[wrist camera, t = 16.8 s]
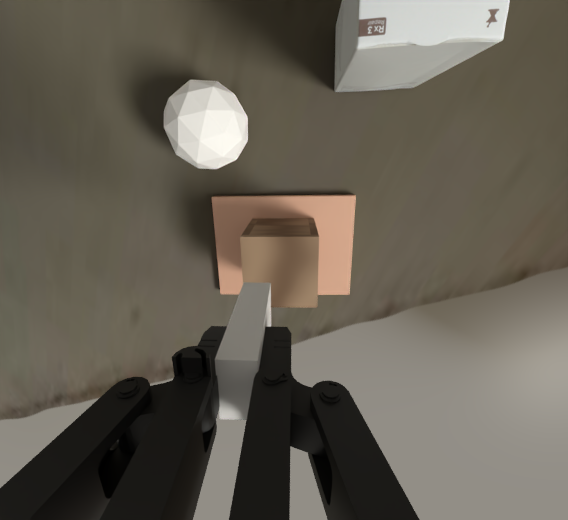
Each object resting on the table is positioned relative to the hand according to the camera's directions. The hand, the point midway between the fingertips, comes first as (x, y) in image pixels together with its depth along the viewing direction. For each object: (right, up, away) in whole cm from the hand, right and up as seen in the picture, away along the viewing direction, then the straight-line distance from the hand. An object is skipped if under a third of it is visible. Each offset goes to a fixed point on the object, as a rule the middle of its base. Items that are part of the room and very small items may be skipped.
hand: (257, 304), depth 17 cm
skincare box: (+10, +22, +13) cm, 28 cm away
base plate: (+1, +4, +19) cm, 20 cm away
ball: (-6, +17, +15) cm, 23 cm away
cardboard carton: (+1, +4, +18) cm, 19 cm away
